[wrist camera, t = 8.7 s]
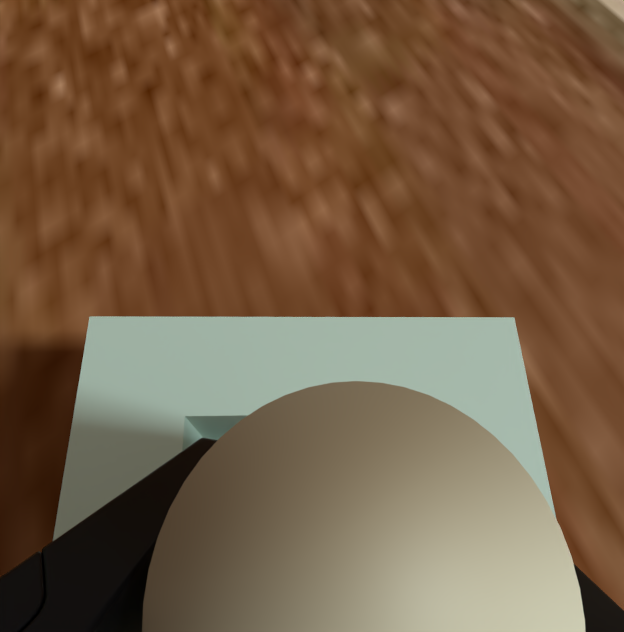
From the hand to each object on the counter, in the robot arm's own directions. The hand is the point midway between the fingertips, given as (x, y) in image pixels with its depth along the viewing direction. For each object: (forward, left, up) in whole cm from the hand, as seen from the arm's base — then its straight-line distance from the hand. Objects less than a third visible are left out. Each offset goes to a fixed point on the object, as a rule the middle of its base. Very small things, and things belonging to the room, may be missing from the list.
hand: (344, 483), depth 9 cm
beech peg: (-1, 0, -7) cm, 7 cm away
